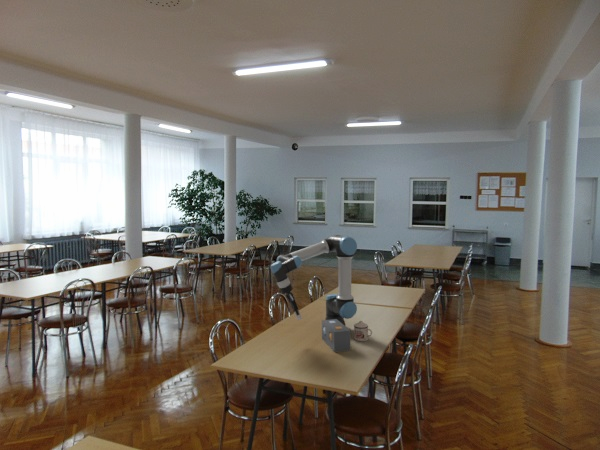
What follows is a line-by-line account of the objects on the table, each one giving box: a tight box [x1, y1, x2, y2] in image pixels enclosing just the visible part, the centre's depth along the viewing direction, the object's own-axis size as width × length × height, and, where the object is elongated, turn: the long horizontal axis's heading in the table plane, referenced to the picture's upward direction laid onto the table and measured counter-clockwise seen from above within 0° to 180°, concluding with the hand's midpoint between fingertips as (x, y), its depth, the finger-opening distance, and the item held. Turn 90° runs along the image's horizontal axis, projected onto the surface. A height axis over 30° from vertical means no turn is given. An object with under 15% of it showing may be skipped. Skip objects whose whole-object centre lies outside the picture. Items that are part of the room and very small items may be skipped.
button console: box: [321, 319, 351, 353], centre depth 257 cm, size 10×24×12 cm, turn 14°
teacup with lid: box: [353, 320, 373, 342], centre depth 265 cm, size 12×9×12 cm
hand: (299, 319), depth 261 cm, fingers closed
